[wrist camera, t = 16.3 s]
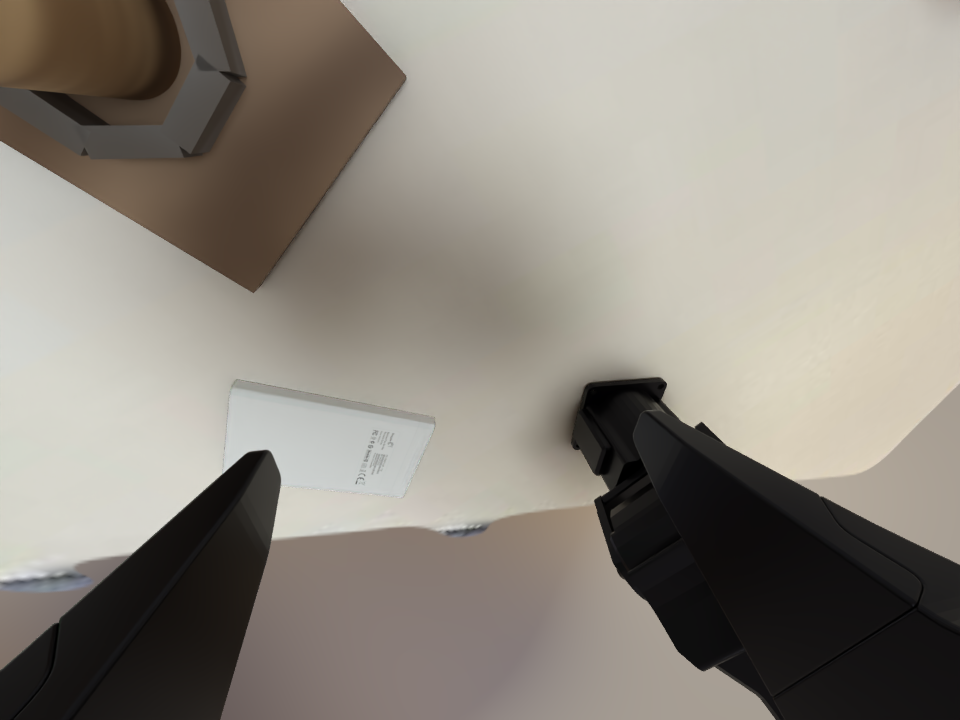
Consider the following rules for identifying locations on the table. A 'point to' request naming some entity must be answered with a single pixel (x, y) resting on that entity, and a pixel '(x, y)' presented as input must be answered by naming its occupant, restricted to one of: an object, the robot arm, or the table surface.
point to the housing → (222, 129)
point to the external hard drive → (326, 439)
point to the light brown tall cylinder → (89, 47)
